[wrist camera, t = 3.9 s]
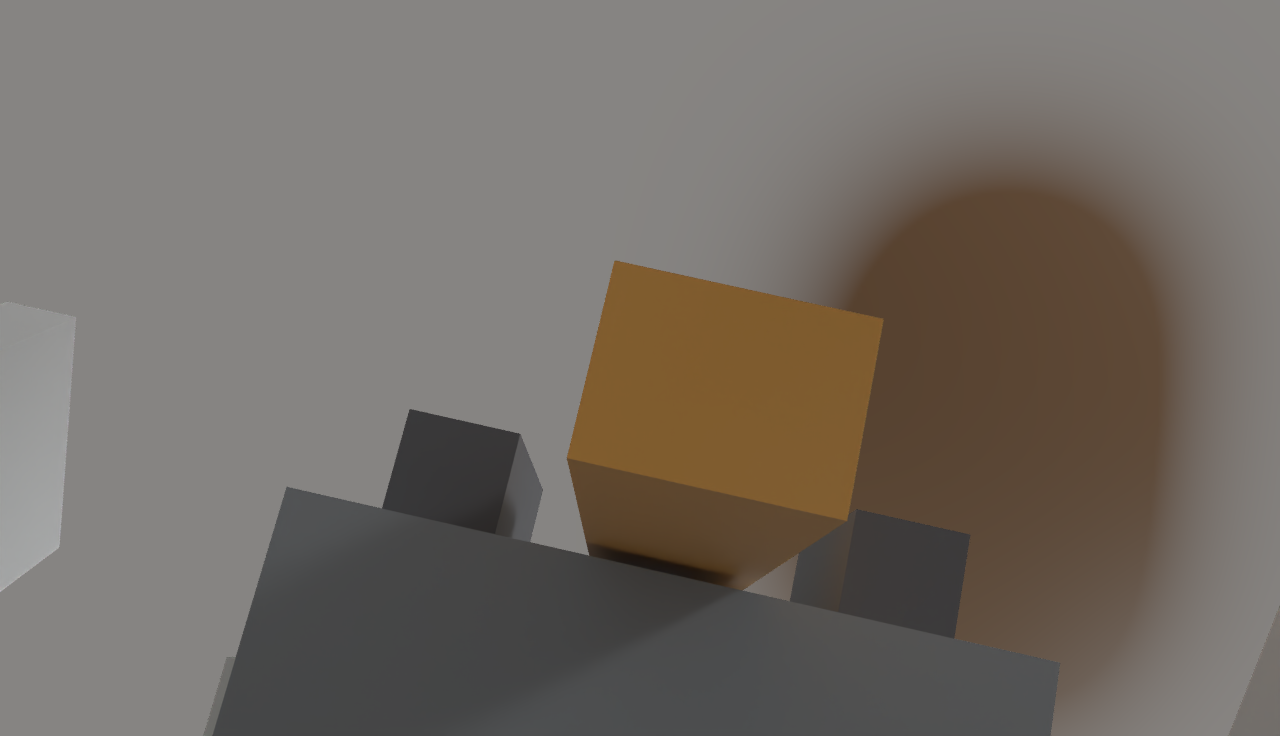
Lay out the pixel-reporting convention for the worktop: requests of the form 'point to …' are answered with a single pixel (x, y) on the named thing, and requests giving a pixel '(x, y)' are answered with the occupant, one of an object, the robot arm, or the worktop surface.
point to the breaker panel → (596, 625)
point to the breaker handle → (717, 425)
